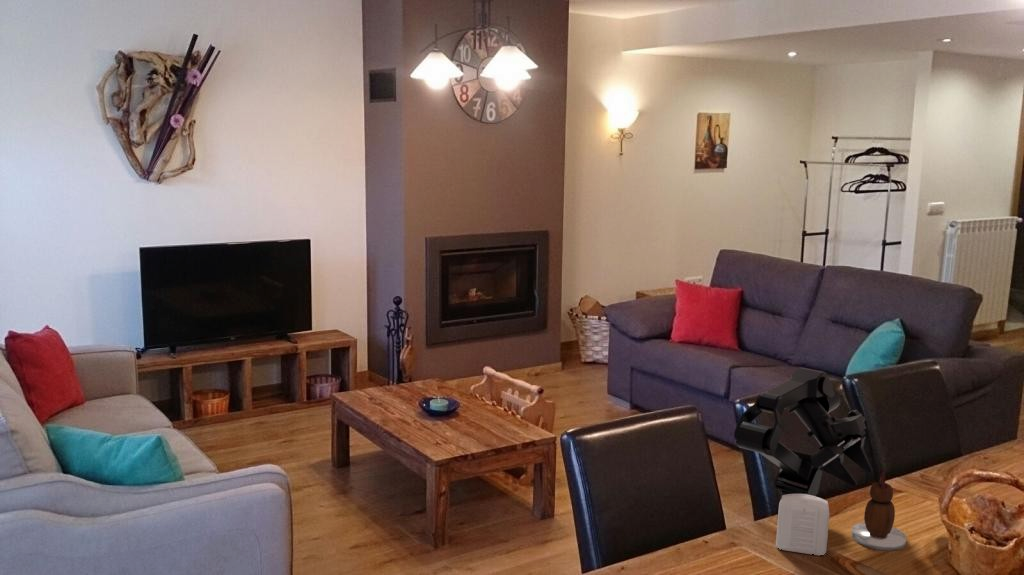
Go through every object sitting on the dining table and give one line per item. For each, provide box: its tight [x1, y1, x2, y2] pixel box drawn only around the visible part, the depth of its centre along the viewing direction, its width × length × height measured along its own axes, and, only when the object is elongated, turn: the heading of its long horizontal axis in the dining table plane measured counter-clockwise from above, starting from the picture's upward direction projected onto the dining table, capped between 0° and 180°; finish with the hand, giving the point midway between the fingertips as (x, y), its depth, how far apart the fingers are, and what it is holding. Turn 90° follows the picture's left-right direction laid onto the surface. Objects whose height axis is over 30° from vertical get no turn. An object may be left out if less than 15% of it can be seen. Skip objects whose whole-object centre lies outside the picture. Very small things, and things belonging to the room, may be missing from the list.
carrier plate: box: [851, 521, 907, 552], centre depth 197 cm, size 11×11×2 cm
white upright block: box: [775, 494, 830, 556], centre depth 190 cm, size 10×4×12 cm, turn 73°
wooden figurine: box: [863, 469, 896, 536], centre depth 195 cm, size 7×6×15 cm
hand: (863, 478), depth 201 cm, fingers open, 9 cm apart
